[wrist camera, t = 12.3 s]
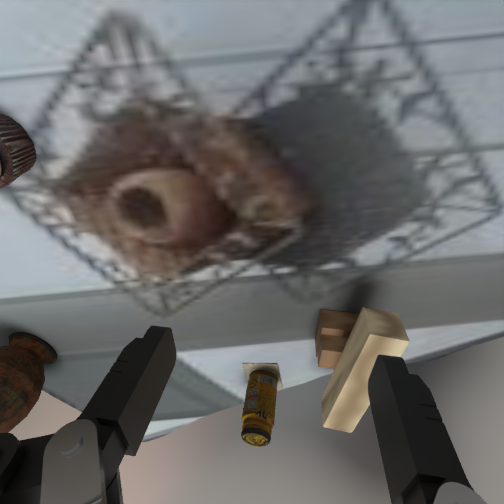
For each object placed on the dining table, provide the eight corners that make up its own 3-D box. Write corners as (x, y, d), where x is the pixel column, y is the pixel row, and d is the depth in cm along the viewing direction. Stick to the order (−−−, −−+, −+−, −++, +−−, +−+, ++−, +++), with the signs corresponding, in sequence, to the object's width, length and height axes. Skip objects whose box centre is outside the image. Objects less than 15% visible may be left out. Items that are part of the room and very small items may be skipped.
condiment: (250, 387, 61) (240, 448, 51) (242, 362, 57) (230, 423, 47) (283, 388, 60) (279, 451, 50) (277, 362, 55) (272, 426, 45)
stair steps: (383, 316, 45) (395, 352, 39) (372, 344, 49) (382, 381, 43) (320, 309, 46) (323, 343, 40) (315, 337, 50) (317, 372, 44)
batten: (398, 313, 35) (409, 341, 32) (347, 404, 47) (351, 432, 44) (362, 307, 36) (370, 334, 32) (321, 399, 48) (322, 426, 44)
